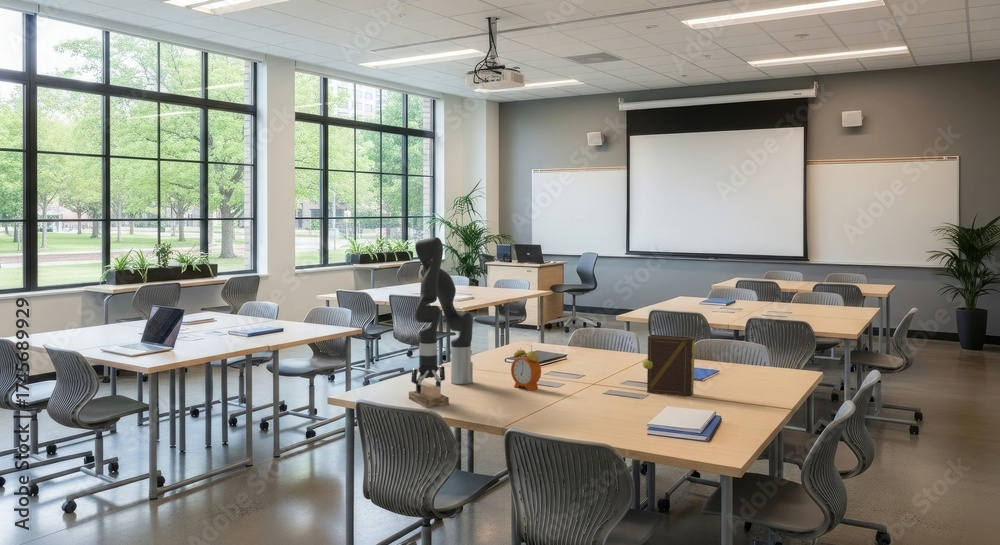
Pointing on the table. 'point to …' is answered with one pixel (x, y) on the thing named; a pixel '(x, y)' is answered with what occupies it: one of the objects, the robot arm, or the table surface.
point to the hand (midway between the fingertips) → (428, 391)
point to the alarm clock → (526, 369)
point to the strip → (430, 390)
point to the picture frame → (428, 400)
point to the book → (670, 365)
